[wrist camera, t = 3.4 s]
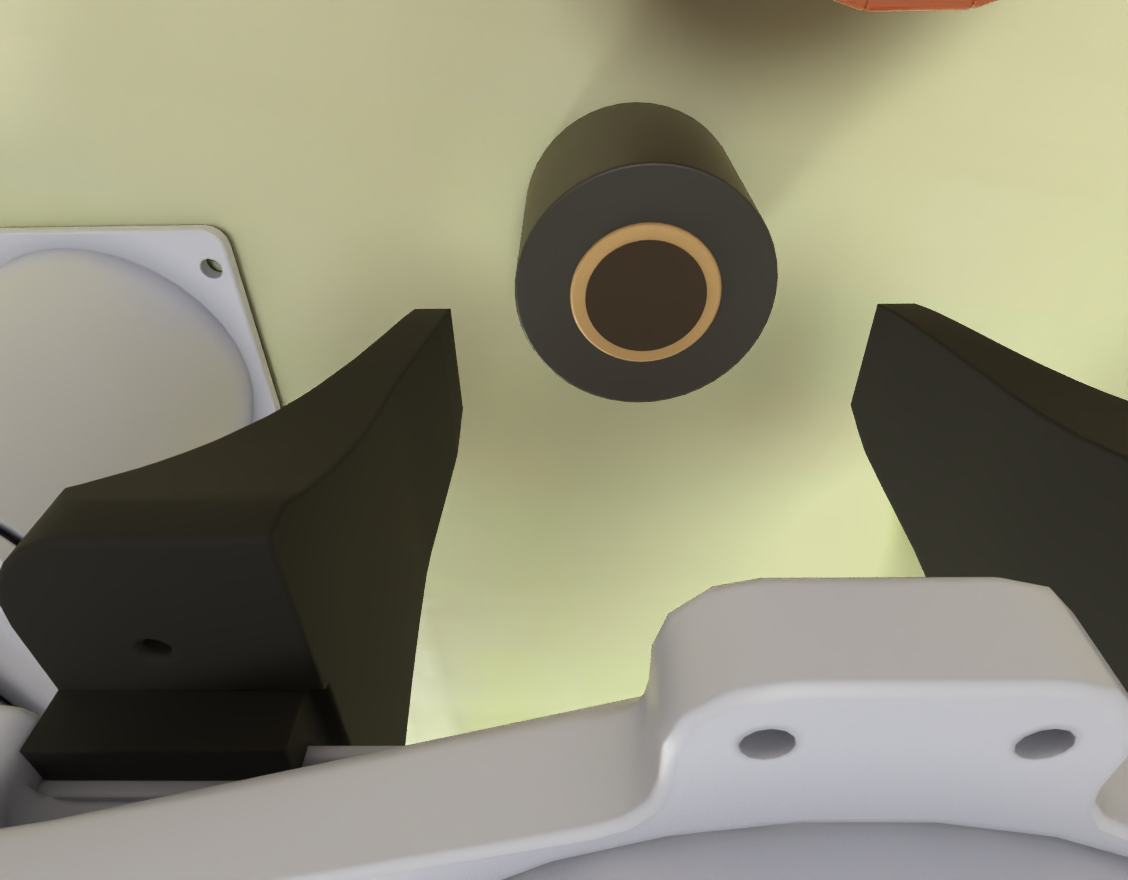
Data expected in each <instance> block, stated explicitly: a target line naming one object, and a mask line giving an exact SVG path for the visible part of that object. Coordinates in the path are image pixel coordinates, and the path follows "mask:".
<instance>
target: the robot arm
mask: <svg viewBox="0 0 1128 880" xmlns="http://www.w3.org/2000/svg"><path fill="white" fill-rule="evenodd" d="M207 259H211V260H214V261H216V262H217V263H219V265H220V266H221V268H222V272H218V271H214V270H213V269H212V268H210V267H209V265H208V263H207ZM851 407H852V411H853V414H854V418H855V421H856V425H857V429H858V432H859V435H860V438H861V441H862V444H863V447H864V450H865V453H866V455H867V457H868V459H869V461H870V463H871V465H872V467H873V469H874V471H875V473H876V475H877V478H878V480H879V482H880V484H881V486H882V488H883V490H884V492H885V494H886V496H887V498H888V499H889V501H890V503H891V505H892V507H893V509H894V511H895V513H896V515H897V517H898V519H899V521H900V523H901V525H902V527H903V529H904V531H905V533H906V535H907V537H908V539H909V541H910V543H911V545H912V547H913V549H914V551H915V553H916V555H917V558H918V560H919V562H920V564H921V567H922V569H923V571H924V574H925V576H926V577H842V578H757V579H752V580H746V581H741V582H735V583H729V584H724V585H718V586H713V587H711V588H709V589H708V590H706V591H704V592H703V593H701V594H699V595H698V596H696V597H695V598H693V599H691V600H690V601H688V602H686V603H685V604H683V605H681V606H680V607H678V608H676V609H675V610H673V611H672V612H670V613H669V614H668V616H667V618H666V619H665V621H664V623H663V625H662V627H661V629H660V631H659V633H658V635H657V637H656V639H655V641H654V643H653V645H652V651H651V663H650V674H649V681H648V684H647V687H646V690H645V693H644V694H643V695H642V696H640V697H636V698H631V699H626V700H621V701H616V702H612V703H607V704H602V705H597V706H593V707H588V708H583V709H578V710H573V711H569V712H564V713H559V714H554V715H550V716H545V717H540V718H535V719H531V720H526V721H521V722H516V723H511V724H507V725H502V726H497V727H492V728H488V729H483V730H478V731H473V732H468V733H464V734H459V735H454V736H449V737H445V738H440V739H435V740H430V741H425V742H421V743H416V744H411V745H406V746H405V742H406V732H407V723H408V714H409V705H410V696H411V687H412V678H413V670H414V662H415V654H416V647H417V639H418V631H419V623H420V616H421V609H422V603H423V596H424V589H425V582H426V575H427V570H428V566H429V561H430V556H431V552H432V548H433V544H434V541H435V537H436V533H437V530H438V526H439V522H440V518H441V515H442V511H443V507H444V504H445V500H446V496H447V492H448V489H449V485H450V481H451V477H452V473H453V470H454V466H455V462H456V458H457V453H458V445H459V438H460V429H461V419H462V410H463V406H462V398H461V390H460V382H459V374H458V366H457V358H456V350H455V342H454V333H453V325H452V317H451V309H414V310H413V311H412V312H410V313H409V314H408V315H406V316H405V317H404V318H403V319H401V320H400V321H399V322H398V323H397V324H396V325H394V326H393V327H392V328H391V329H390V330H389V331H387V332H386V333H385V334H384V335H383V336H382V337H380V338H379V339H378V340H377V341H376V342H374V343H373V344H372V345H371V346H370V347H368V348H367V349H366V350H365V351H364V352H362V353H361V354H360V355H359V356H358V357H356V358H355V359H354V360H352V361H351V362H350V363H348V364H347V365H346V366H344V367H343V368H341V369H340V370H339V371H337V372H336V373H335V374H333V375H332V376H331V377H329V378H328V379H326V380H325V381H324V382H322V383H321V384H320V385H318V386H317V387H315V388H314V389H312V390H311V391H309V392H308V393H306V394H304V395H303V396H301V397H300V398H298V399H296V400H295V401H293V402H291V403H289V404H288V405H286V406H284V407H282V408H281V407H280V404H279V401H278V398H277V394H276V391H275V388H274V385H273V381H272V378H271V375H270V372H269V368H268V365H267V362H266V359H265V355H264V352H263V349H262V346H261V342H260V339H259V336H258V332H257V329H256V326H255V323H254V319H253V316H252V313H251V310H250V306H249V303H248V300H247V297H246V293H245V290H244V287H243V284H242V280H241V277H240V274H239V270H238V267H237V264H236V261H235V257H234V254H233V251H232V248H231V244H230V242H229V240H228V238H227V237H226V236H225V235H224V234H223V233H222V232H221V231H220V230H219V229H217V228H215V227H213V226H208V225H160V226H90V227H20V228H0V880H1128V401H1127V400H1124V399H1121V398H1119V397H1116V396H1113V395H1111V394H1108V393H1105V392H1103V391H1100V390H1098V389H1095V388H1093V387H1090V386H1088V385H1086V384H1083V383H1081V382H1079V381H1076V380H1074V379H1072V378H1070V377H1067V376H1065V375H1063V374H1061V373H1059V372H1056V371H1054V370H1052V369H1050V368H1048V367H1045V366H1043V365H1041V364H1039V363H1037V362H1035V361H1033V360H1031V359H1029V358H1027V357H1025V356H1023V355H1021V354H1019V353H1017V352H1015V351H1013V350H1011V349H1009V348H1007V347H1005V346H1003V345H1001V344H999V343H997V342H995V341H993V340H991V339H989V338H987V337H985V336H983V335H981V334H979V333H978V332H976V331H974V330H972V329H970V328H968V327H966V326H964V325H962V324H960V323H958V322H956V321H954V320H952V319H950V318H948V317H946V316H944V315H942V314H940V313H937V312H935V311H933V310H931V309H928V308H926V307H923V306H920V305H917V304H878V305H877V309H876V312H875V316H874V320H873V324H872V327H871V331H870V335H869V339H868V342H867V346H866V350H865V353H864V357H863V361H862V365H861V368H860V372H859V376H858V380H857V383H856V387H855V391H854V395H853V398H852V402H851Z"/></svg>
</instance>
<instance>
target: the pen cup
mask: <svg viewBox="0 0 1128 880" xmlns="http://www.w3.org/2000/svg"><path fill="white" fill-rule="evenodd" d="M833 1H836V2H838V3H841V4H844V5H846V6H849V7H852V8H854V9H857V10H865V11H867V12H887V11H941V10H967V9H969V8H978V7H981V6H983V5H986V4H989V3H992V2H995V1H998V0H833Z"/></svg>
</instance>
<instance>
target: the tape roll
mask: <svg viewBox="0 0 1128 880" xmlns="http://www.w3.org/2000/svg"><path fill="white" fill-rule="evenodd" d="M777 278H778V273H777V258H776V253H775V248H774V244H773V241H772V238H771V236H770V233H769V230H768V228H767V226H766V224H765V222H764V221H763V219H762V217H761V215H760V213H759V212H758V210H757V208H756V206H755V204H754V203H753V201H752V199H751V197H750V196H749V194H748V192H747V190H746V188H745V187H744V185H743V183H742V181H741V180H740V178H739V176H738V174H737V172H736V171H735V169H734V167H733V165H732V164H731V162H730V160H729V158H728V156H727V155H726V153H725V151H724V149H723V148H722V146H721V145H720V144H719V142H718V141H717V140H716V138H715V137H714V136H713V135H712V134H711V133H710V132H709V131H708V130H707V129H706V128H705V127H704V126H703V125H701V124H700V123H699V122H697V121H696V120H695V119H693V118H692V117H690V116H688V115H686V114H684V113H682V112H680V111H678V110H675V109H672V108H669V107H666V106H662V105H657V104H652V103H638V102H634V103H623V104H617V105H613V106H608V107H604V108H602V109H599V110H597V111H594V112H591V113H589V114H588V115H586V116H584V117H582V118H580V119H578V120H577V121H575V122H574V123H573V124H571V125H570V126H568V127H567V128H566V129H565V130H564V131H562V132H561V133H560V134H559V135H558V136H557V137H556V138H555V139H554V140H553V142H552V143H551V144H550V145H549V147H548V148H547V149H546V150H545V152H544V153H543V155H542V157H541V158H540V160H539V162H538V163H537V166H536V168H535V170H534V172H533V175H532V177H531V181H530V184H529V188H528V192H527V198H526V205H525V212H524V220H523V227H522V234H521V242H520V249H519V256H518V263H517V271H516V278H515V299H516V307H517V313H518V316H519V320H520V323H521V326H522V329H523V331H524V333H525V335H526V338H527V340H528V341H529V343H530V345H531V346H532V348H533V349H534V351H535V353H536V354H537V355H538V356H539V357H540V359H541V360H542V361H543V362H544V363H545V364H546V365H547V366H548V367H549V368H550V369H551V370H552V371H553V372H554V373H555V374H556V375H558V376H559V377H561V378H562V379H563V380H565V381H566V382H568V383H569V384H571V385H573V386H575V387H577V388H578V389H580V390H583V391H585V392H588V393H590V394H593V395H595V396H599V397H603V398H606V399H610V400H617V401H623V402H652V401H660V400H665V399H671V398H674V397H678V396H681V395H685V394H687V393H690V392H692V391H695V390H697V389H700V388H702V387H704V386H705V385H707V384H709V383H711V382H713V381H715V380H716V379H717V378H719V377H720V376H722V375H723V374H725V373H726V372H727V371H729V370H730V369H731V368H732V367H733V366H734V365H736V364H737V363H738V362H739V361H740V360H741V359H742V358H743V357H744V356H745V354H746V353H747V352H748V351H749V350H750V349H751V347H752V346H753V344H754V343H755V342H756V340H757V339H758V338H759V336H760V334H761V332H762V330H763V328H764V327H765V325H766V323H767V320H768V318H769V315H770V313H771V310H772V307H773V303H774V299H775V295H776V288H777Z"/></svg>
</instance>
